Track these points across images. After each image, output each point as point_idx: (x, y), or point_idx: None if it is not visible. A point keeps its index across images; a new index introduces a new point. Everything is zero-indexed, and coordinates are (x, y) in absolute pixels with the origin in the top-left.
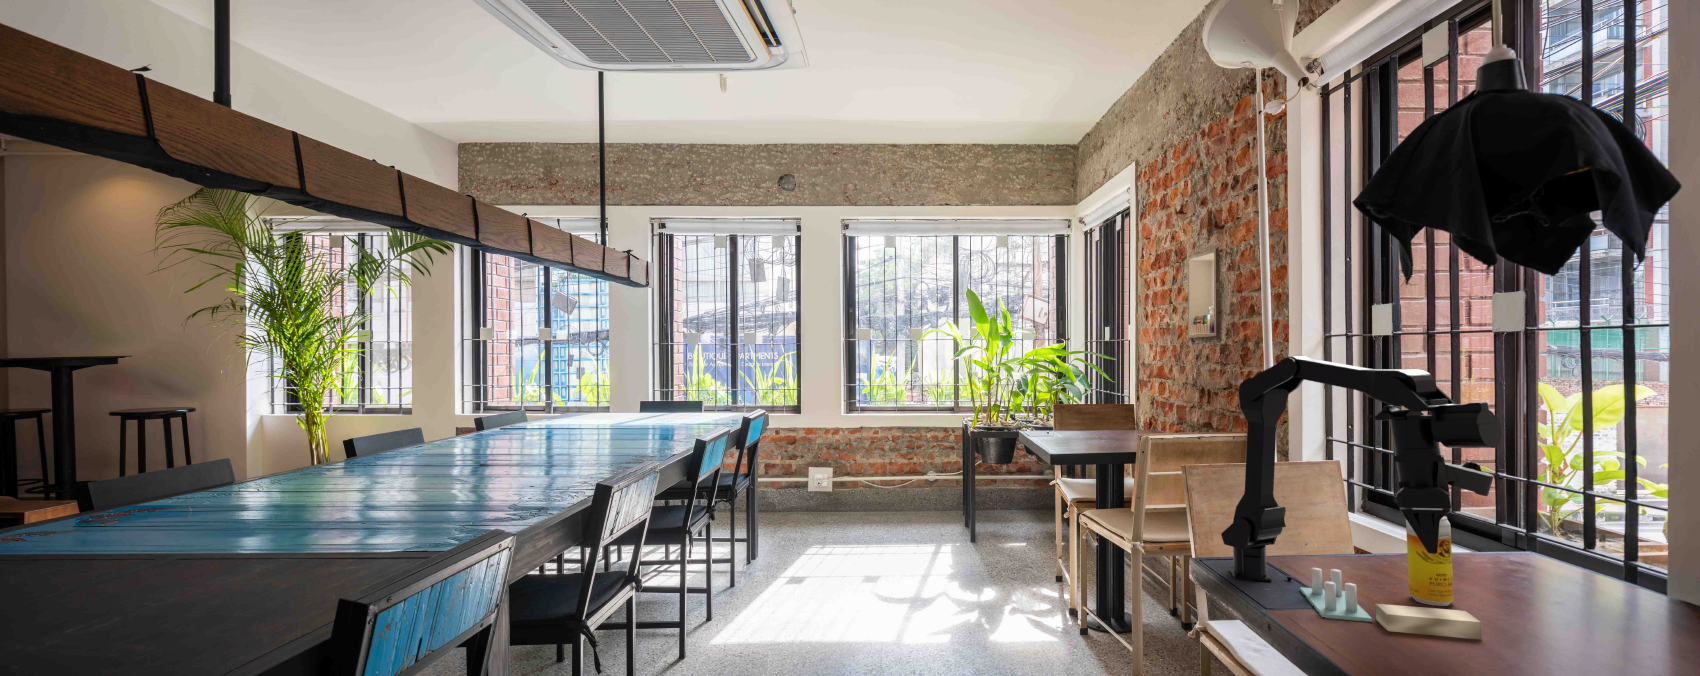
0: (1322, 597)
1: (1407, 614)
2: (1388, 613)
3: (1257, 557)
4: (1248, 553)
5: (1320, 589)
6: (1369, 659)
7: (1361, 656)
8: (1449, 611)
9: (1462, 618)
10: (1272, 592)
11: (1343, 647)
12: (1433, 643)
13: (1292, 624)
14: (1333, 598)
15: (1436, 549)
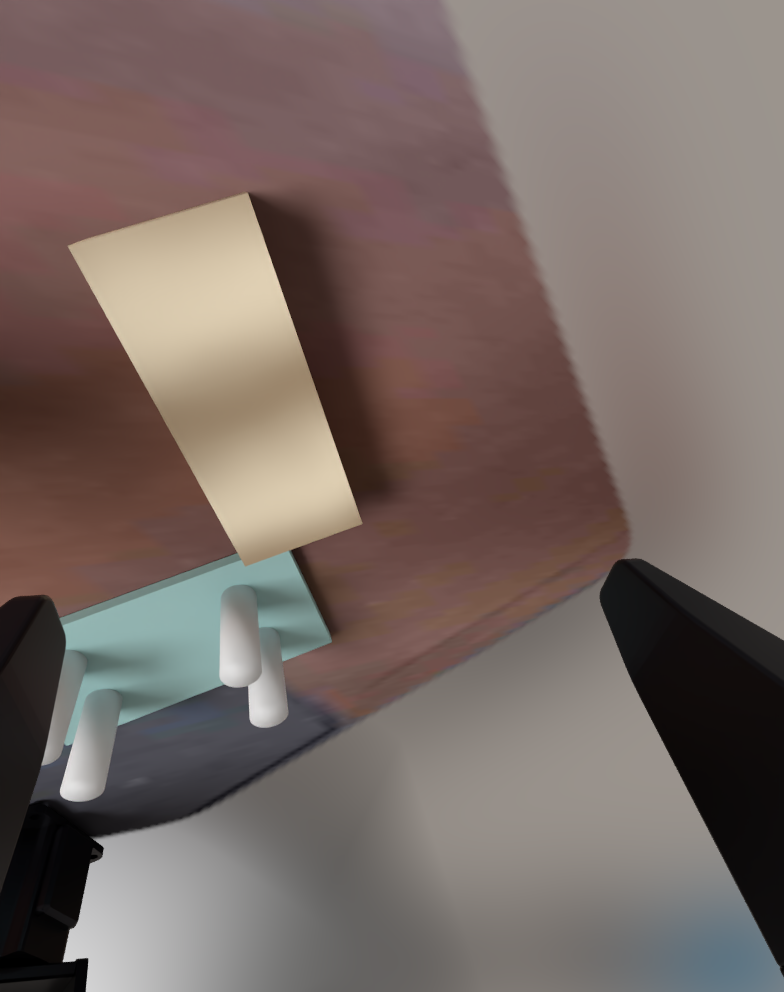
0: (142, 680)
1: (322, 471)
2: (349, 521)
3: (51, 912)
4: (58, 938)
5: (111, 707)
6: (603, 503)
7: (589, 519)
8: (149, 323)
9: (240, 275)
10: (165, 763)
11: (544, 556)
12: (405, 371)
13: (430, 661)
14: (279, 661)
15: (668, 579)
